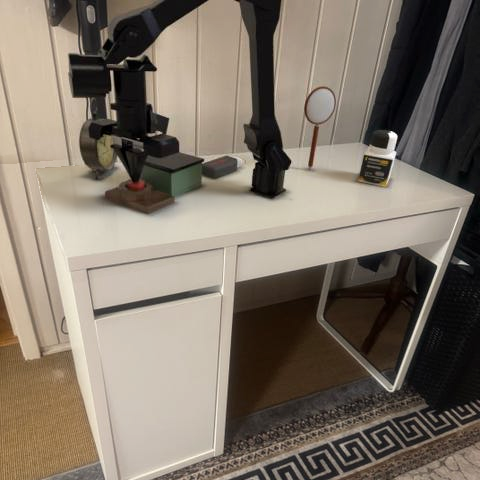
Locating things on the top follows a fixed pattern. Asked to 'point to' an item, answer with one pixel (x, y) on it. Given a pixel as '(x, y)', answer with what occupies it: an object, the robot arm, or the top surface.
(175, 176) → the cooker
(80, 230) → the top surface
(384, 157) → the medicine bottle
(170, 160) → the cooker lid
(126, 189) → the control block
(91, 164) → the alarm clock
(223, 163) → the usb drive
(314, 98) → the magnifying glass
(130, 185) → the button
